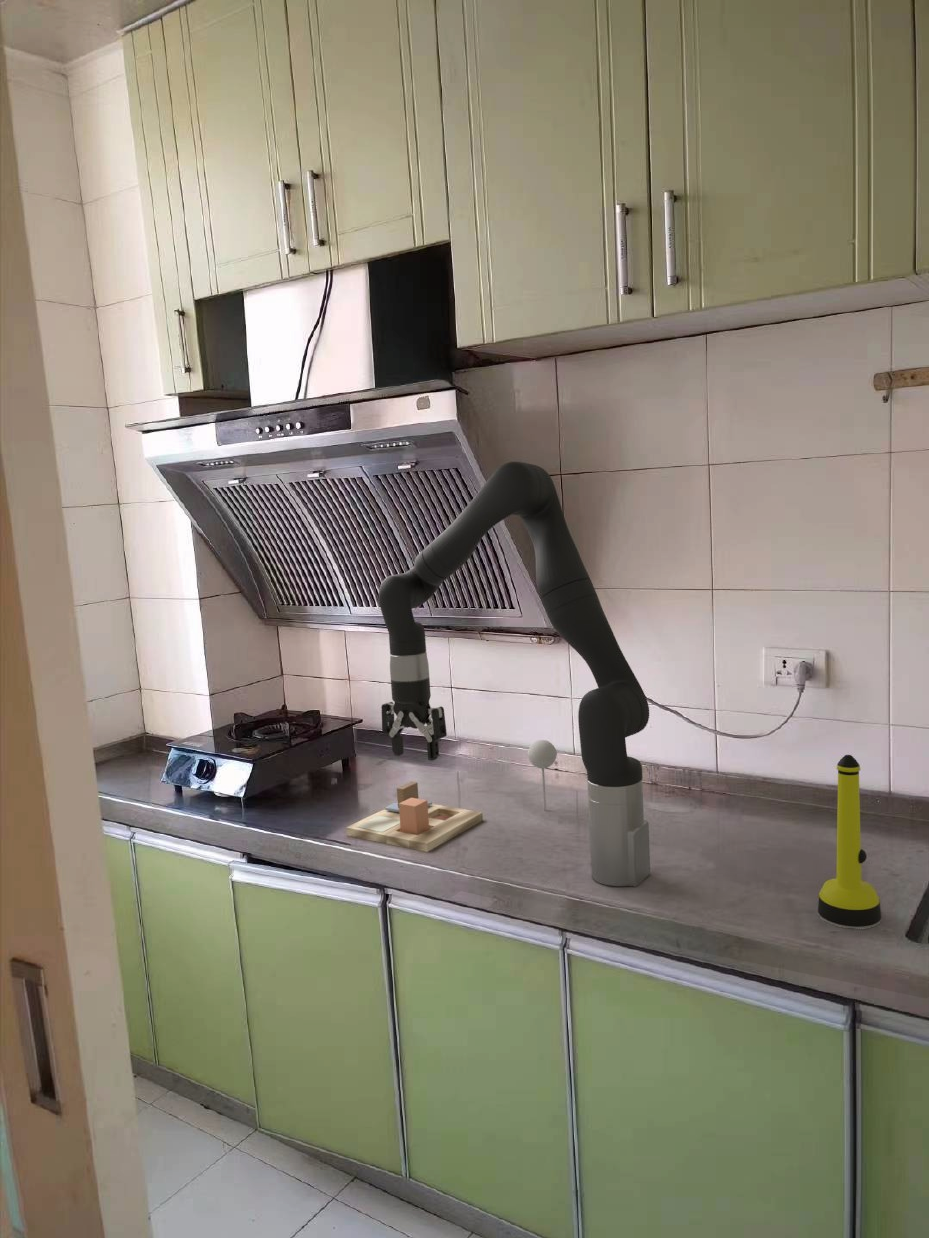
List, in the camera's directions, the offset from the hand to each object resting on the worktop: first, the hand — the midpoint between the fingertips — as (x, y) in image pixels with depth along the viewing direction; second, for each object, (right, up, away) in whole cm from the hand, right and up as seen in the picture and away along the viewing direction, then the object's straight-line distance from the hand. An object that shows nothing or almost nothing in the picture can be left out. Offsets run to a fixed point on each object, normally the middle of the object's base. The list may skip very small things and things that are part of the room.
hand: (415, 757), depth 184 cm
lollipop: (+26, -13, +12) cm, 32 cm away
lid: (-2, -12, +12) cm, 17 cm away
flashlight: (+68, -18, -42) cm, 82 cm away
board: (0, -15, +5) cm, 16 cm away
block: (0, -16, 0) cm, 16 cm away
